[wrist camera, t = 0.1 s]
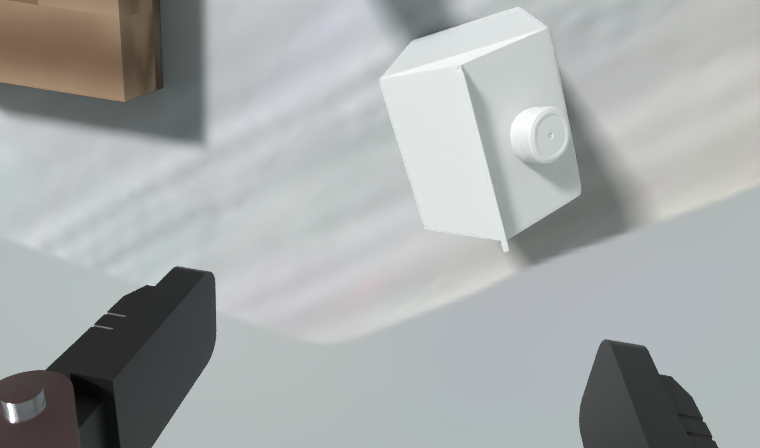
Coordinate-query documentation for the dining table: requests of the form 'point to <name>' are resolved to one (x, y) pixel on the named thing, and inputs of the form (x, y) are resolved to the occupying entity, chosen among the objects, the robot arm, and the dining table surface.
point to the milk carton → (483, 126)
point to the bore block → (82, 46)
